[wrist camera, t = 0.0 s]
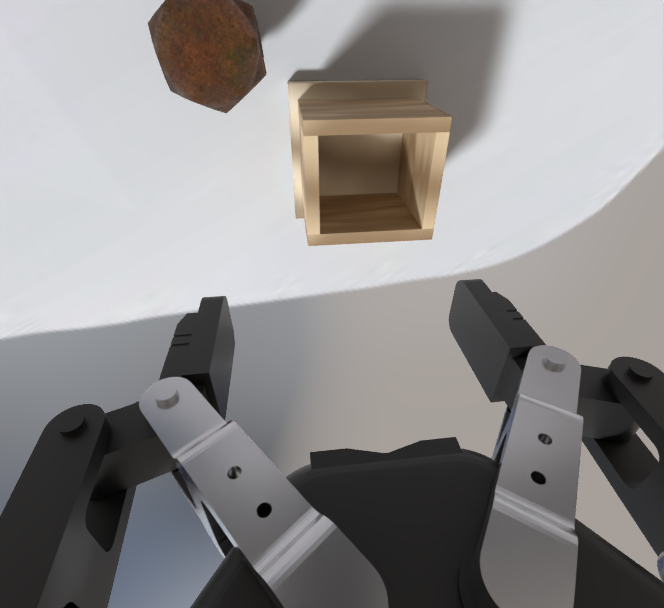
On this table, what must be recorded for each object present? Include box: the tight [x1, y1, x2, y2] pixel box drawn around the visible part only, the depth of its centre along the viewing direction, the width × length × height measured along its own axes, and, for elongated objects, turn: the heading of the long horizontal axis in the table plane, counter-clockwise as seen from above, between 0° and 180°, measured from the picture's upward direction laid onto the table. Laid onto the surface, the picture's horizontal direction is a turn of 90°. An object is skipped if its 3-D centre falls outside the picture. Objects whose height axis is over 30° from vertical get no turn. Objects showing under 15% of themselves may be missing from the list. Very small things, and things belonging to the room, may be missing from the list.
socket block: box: [288, 80, 452, 246], centre depth 33 cm, size 12×12×10 cm
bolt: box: [148, 0, 266, 113], centre depth 25 cm, size 6×5×15 cm
